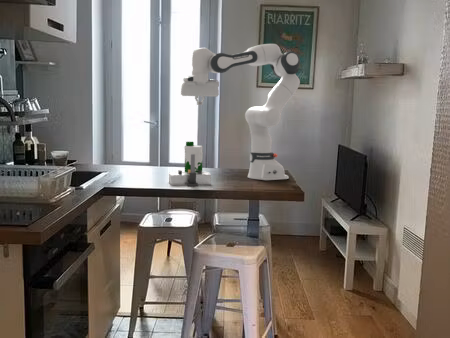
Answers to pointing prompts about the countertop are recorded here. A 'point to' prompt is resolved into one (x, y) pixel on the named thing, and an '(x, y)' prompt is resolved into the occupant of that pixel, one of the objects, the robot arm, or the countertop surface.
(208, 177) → the breaker box
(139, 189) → the countertop surface
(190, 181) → the grey stepped post
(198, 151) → the soya milk
